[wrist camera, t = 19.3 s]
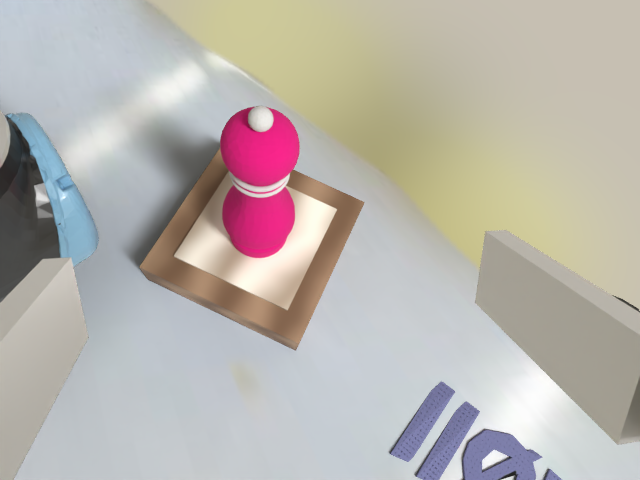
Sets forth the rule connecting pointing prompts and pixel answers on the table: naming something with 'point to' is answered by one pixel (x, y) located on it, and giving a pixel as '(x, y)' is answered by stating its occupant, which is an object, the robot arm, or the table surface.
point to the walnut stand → (254, 273)
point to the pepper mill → (259, 180)
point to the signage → (452, 439)
